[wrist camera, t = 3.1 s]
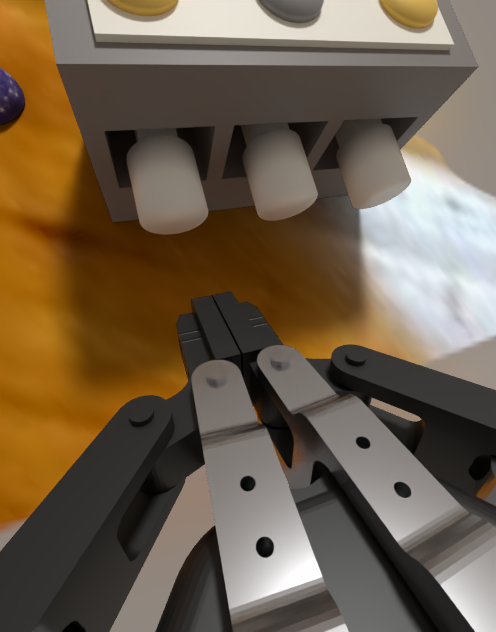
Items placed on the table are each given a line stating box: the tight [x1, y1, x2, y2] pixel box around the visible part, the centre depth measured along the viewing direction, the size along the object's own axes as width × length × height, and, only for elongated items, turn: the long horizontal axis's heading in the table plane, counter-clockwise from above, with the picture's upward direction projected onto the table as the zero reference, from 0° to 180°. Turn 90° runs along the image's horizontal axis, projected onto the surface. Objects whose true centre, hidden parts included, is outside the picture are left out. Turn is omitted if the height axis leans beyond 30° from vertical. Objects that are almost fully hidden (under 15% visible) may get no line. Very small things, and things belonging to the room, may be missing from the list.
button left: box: [126, 128, 208, 235], centre depth 17 cm, size 4×6×4 cm, turn 15°
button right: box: [335, 119, 411, 209], centre depth 21 cm, size 4×6×4 cm, turn 15°
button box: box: [45, 0, 479, 222], centre depth 20 cm, size 20×9×12 cm, turn 105°
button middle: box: [241, 123, 318, 221], centre depth 19 cm, size 4×6×4 cm, turn 15°
